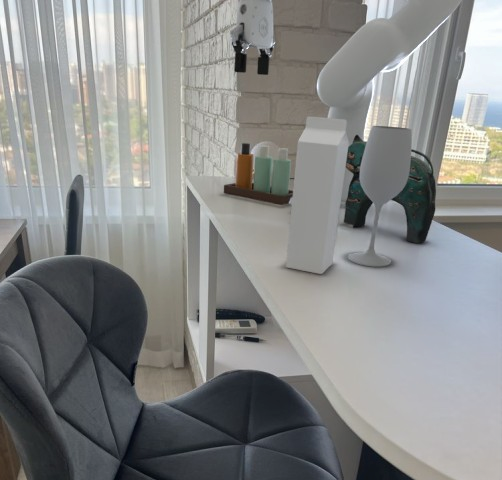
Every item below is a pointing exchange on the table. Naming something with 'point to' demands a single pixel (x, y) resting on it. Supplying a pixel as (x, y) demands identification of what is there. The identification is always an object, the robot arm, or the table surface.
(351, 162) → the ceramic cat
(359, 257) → the wineglass
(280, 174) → the bottle
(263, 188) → the bottle
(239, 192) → the tray
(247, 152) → the amber bottle
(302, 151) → the milk
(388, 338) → the table surface
